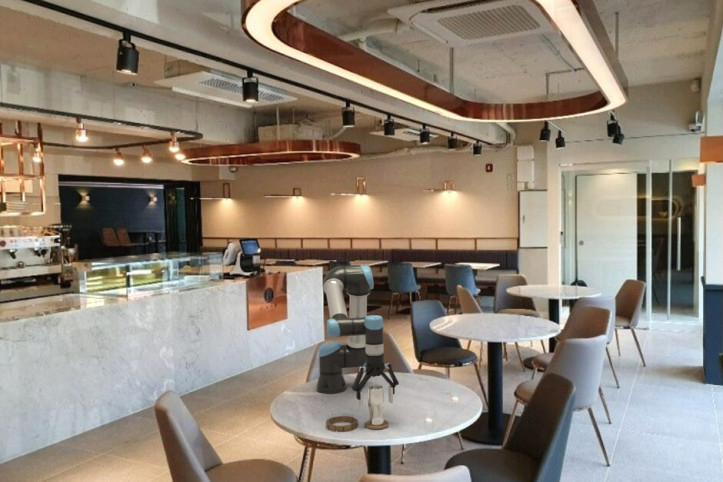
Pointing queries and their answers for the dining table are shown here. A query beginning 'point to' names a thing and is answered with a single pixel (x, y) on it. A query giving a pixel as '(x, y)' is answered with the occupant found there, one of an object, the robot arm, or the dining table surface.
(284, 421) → the dining table surface
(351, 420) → the ring
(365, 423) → the walnut coaster
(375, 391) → the beer glass
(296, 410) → the dining table surface
